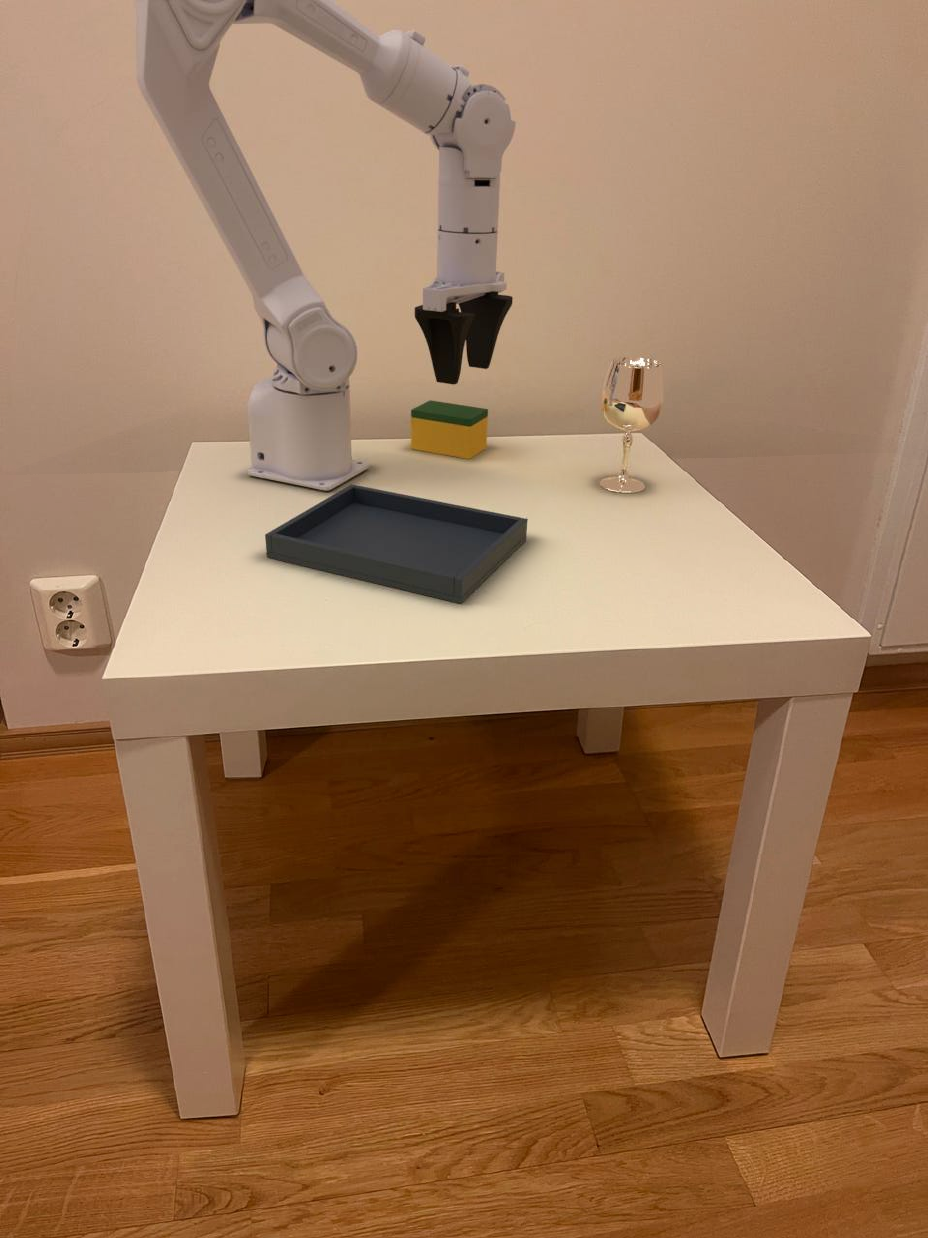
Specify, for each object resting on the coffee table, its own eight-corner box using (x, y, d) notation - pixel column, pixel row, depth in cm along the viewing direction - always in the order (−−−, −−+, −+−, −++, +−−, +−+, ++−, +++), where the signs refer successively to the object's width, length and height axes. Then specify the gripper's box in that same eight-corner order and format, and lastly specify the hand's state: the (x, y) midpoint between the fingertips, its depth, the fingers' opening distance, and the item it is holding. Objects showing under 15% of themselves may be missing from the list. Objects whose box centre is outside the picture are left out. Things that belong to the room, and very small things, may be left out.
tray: (266, 557, 73) (264, 534, 72) (351, 504, 83) (351, 483, 82) (461, 604, 67) (461, 579, 66) (526, 540, 77) (527, 518, 76)
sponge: (410, 448, 98) (410, 409, 96) (429, 438, 102) (429, 399, 100) (469, 459, 96) (470, 419, 94) (486, 447, 99) (488, 408, 97)
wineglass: (655, 480, 92) (672, 359, 86) (646, 498, 87) (663, 372, 81) (599, 472, 93) (611, 353, 87) (587, 490, 88) (599, 365, 83)
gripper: (474, 240, 79) (469, 395, 85) (534, 227, 90) (526, 365, 97) (402, 234, 81) (403, 385, 88) (470, 222, 93) (466, 357, 100)
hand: (463, 374), depth 93 cm, fingers open, 7 cm apart
